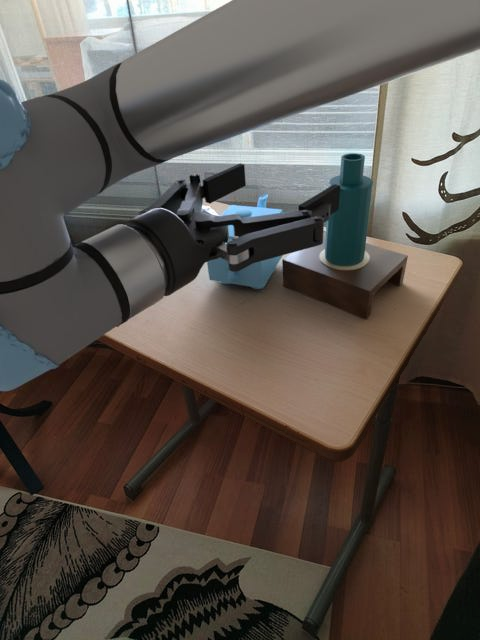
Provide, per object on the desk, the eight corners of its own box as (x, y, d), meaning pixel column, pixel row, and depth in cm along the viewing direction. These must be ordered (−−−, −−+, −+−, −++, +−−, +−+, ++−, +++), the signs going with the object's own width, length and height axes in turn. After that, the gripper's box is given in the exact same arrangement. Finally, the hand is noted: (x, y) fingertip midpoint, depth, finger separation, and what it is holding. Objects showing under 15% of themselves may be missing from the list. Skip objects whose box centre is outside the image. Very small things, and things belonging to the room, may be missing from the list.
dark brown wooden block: (402, 283, 80) (408, 254, 77) (366, 319, 73) (370, 290, 69) (322, 256, 90) (323, 229, 87) (282, 285, 83) (282, 258, 79)
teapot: (258, 304, 79) (254, 237, 70) (204, 294, 82) (194, 230, 74) (291, 247, 94) (291, 187, 86) (245, 242, 98) (241, 183, 89)
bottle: (371, 253, 78) (384, 153, 67) (351, 270, 74) (361, 167, 63) (337, 243, 82) (345, 147, 71) (317, 259, 78) (321, 159, 67)
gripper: (81, 258, 47) (214, 194, 59) (250, 350, 33) (380, 242, 45) (58, 193, 42) (207, 137, 54) (243, 268, 28) (391, 171, 40)
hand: (286, 184), depth 50 cm, fingers open, 13 cm apart
